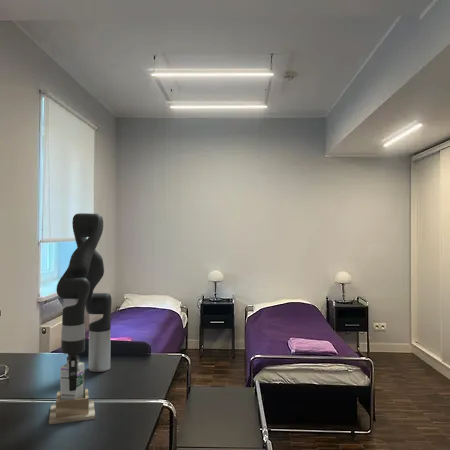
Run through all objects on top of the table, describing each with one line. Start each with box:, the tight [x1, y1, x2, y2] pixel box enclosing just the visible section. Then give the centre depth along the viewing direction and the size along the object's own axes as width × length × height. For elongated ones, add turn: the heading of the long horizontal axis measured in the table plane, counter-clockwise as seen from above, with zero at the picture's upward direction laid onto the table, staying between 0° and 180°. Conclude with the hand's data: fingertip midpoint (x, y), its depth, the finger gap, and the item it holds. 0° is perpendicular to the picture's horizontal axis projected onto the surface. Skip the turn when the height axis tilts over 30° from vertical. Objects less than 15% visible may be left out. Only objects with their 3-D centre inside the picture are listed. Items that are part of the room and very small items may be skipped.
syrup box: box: [59, 361, 86, 401], centre depth 149 cm, size 6×6×14 cm
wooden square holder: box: [48, 387, 96, 425], centre depth 149 cm, size 14×14×6 cm
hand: (72, 386), depth 149 cm, fingers closed on syrup box, 7 cm apart
